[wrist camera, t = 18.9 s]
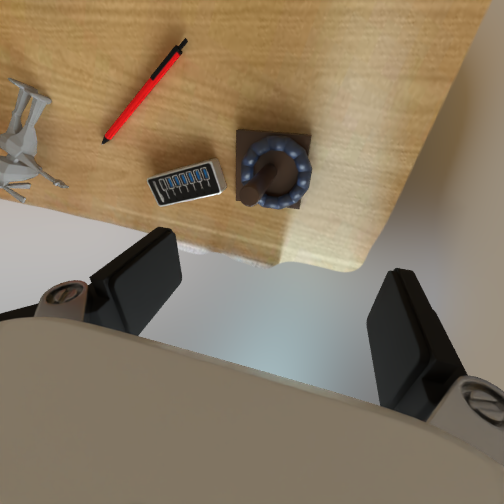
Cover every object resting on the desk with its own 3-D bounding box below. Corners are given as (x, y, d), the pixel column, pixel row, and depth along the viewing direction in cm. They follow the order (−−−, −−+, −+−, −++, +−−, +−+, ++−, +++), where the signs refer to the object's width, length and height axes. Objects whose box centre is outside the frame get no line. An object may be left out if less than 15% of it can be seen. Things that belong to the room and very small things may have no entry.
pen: (191, 44, 26) (186, 42, 25) (106, 146, 36) (100, 147, 35) (185, 36, 26) (180, 33, 25) (102, 141, 35) (96, 142, 34)
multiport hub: (227, 188, 34) (222, 193, 32) (167, 202, 38) (158, 207, 36) (217, 157, 32) (211, 160, 30) (154, 174, 36) (145, 178, 34)
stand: (311, 134, 28) (305, 149, 19) (300, 206, 33) (290, 245, 24) (239, 128, 30) (201, 140, 21) (238, 197, 35) (207, 231, 25)
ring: (317, 138, 27) (317, 139, 26) (305, 210, 32) (304, 214, 30) (243, 132, 29) (239, 133, 27) (242, 201, 33) (238, 205, 32)
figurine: (73, 126, 31) (33, 226, 35) (114, 137, 39) (77, 217, 43) (-59, 32, 29) (-84, 150, 33) (13, 65, 37) (-14, 156, 41)
